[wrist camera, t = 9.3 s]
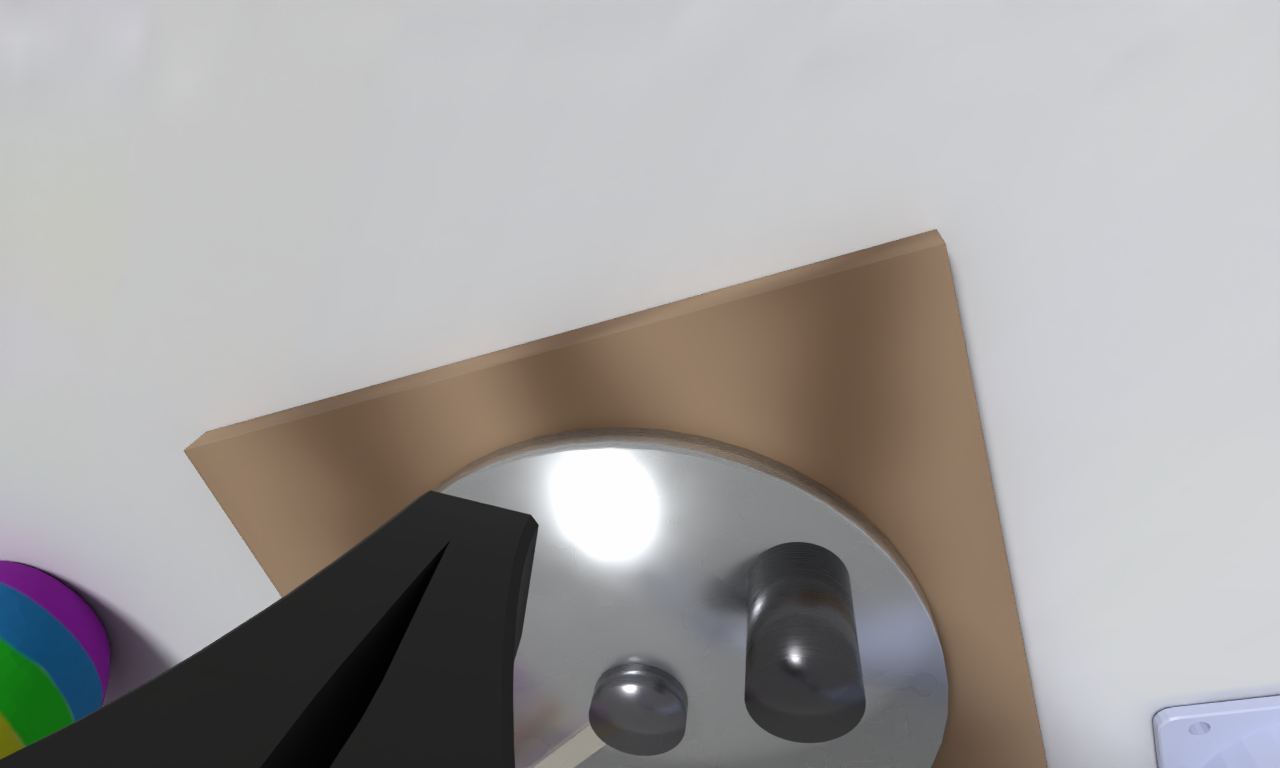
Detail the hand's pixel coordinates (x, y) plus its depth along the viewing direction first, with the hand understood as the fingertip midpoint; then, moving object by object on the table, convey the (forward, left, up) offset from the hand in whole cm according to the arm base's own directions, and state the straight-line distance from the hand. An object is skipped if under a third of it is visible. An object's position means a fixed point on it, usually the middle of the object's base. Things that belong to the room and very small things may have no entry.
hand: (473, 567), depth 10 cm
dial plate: (+3, +11, -10) cm, 15 cm away
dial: (+3, +11, -9) cm, 15 cm away
